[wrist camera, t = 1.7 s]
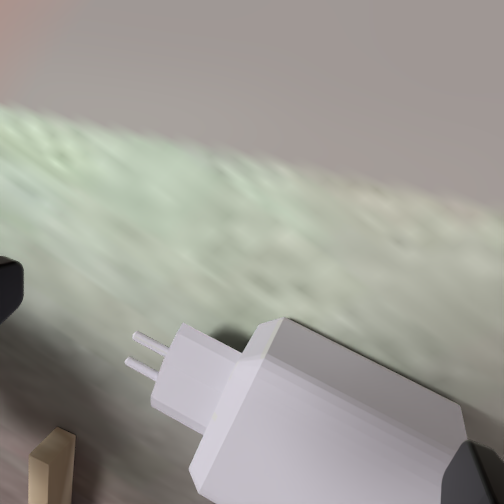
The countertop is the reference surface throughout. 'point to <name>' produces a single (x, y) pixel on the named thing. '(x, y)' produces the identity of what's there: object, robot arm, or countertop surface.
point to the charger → (302, 420)
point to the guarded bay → (52, 469)
